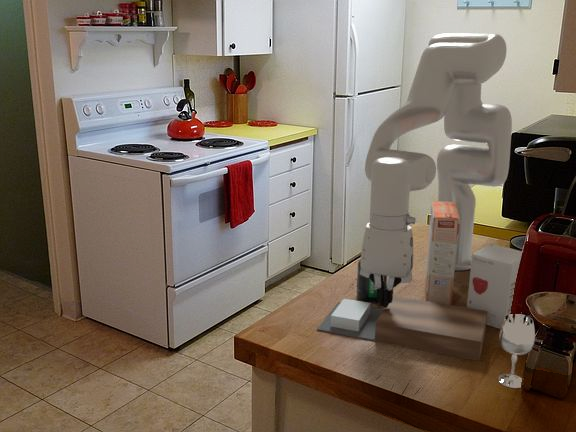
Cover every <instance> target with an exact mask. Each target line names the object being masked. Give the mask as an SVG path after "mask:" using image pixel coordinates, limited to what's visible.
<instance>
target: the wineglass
mask: <svg viewBox="0 0 576 432" xmlns="http://www.w3.org/2000/svg"><path fill="white" fill-rule="evenodd" d="M498 340H499V344H500V346H501V348H502V349H503V350H504V351H505V352H507V353H509V354H511V357H510V360H511V369H510V370H511V372H510V373H502V374H501V375H500V374H499V376H498V378H497V381H498V382H499V384H501V385H502V386H504V387H507V388H512V389H521V388H522V387H521V382H522V379H523V378H522V377H521V376H519V375H516V374H515V367H516V363H517V362H518V356H522V355H526V354H528V353H530V352H531V350H532V349H533V348H534V345H535V343H536V341H535V340H536V329H535V324H534V320H533V318H531V317H530V316H528V315H525V314H522V313H521V314H508V315H506V316H505V318H504V320H503V322H502V325H501V328H500V329H499V333H498ZM532 347H533V348H532Z"/></svg>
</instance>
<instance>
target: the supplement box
mask: <svg viewBox="0 0 576 432" xmlns="http://www.w3.org/2000/svg"><path fill="white" fill-rule="evenodd" d="M522 252H523V251H522V250H518V249H514V248H510V247H506V246H501V245H497V244H494V243H489V244H487V245H485V246H484V247H482V248H480V249H478V250H476V251H474V252H471V256H472V260H471V269H469V270H470V272H469V283H468V290H467V291H468V292H467V301H466V308H472V309H478V310H484V311H488V314H487V323H486V326H490V327H493V328H495V329H499V330H500V328H501V325H502V322H503V320H504V318H505V316H506V315H508V314H510V313H511V306H512V301H513V295H514V288H515V282H516V278H517V273H518V268H519V263H520V259H521V255H522Z"/></svg>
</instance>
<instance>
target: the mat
mask: <svg viewBox="0 0 576 432" xmlns="http://www.w3.org/2000/svg"><path fill="white" fill-rule="evenodd" d="M340 303H341V302H339V301H338V302H337V303H336V304H335V305H334V306H333V308H332V309H331V311H329V313H328V314H327V315H326V317H325V318H324V320H323V321H322V322H321V323H320V324H319V326H318V327H317V328H316V330H317V331H320V332H323V333H325V332H326V333H330V334H336V335H340V336H346V337H351V338H356V339H361V340H365V341H366V340H367V341H374V342H375V326H376V322H377V320H378V318H379V316H380V315H381V313H382V311H383V310H384V309H380V308H375V307H370V314H369V316H368V318H367V319H366V321H365V322H364V324H363V326H362V327H361V329H360V330H359V332H358V331H353V330H348V329H342V328H337V327H331V315H332V314H333V312H334V311H335V310H336V308H337V307H338V306H339V304H340Z"/></svg>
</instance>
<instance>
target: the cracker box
mask: <svg viewBox="0 0 576 432" xmlns="http://www.w3.org/2000/svg"><path fill="white" fill-rule="evenodd" d="M429 218H430V220H429V232H428V234H429V235H428V242H427V243H428V244H427V255H426V268H425V270H426V271H425V279H424V283H425V284H424V285H425V301H428V302H434V303H440V304H447V305H452V303H453V301H452V300H453V290H454V281H455V280H454V279H455V271H456V270H455V261H456V251H457V241H458V231H459V221H460V219H459V215H458V211H457V206H456V203H454V202H439V201H438V200H437V201H436V200H434V201H433V200H432V201H431V205H430V217H429Z"/></svg>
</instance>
